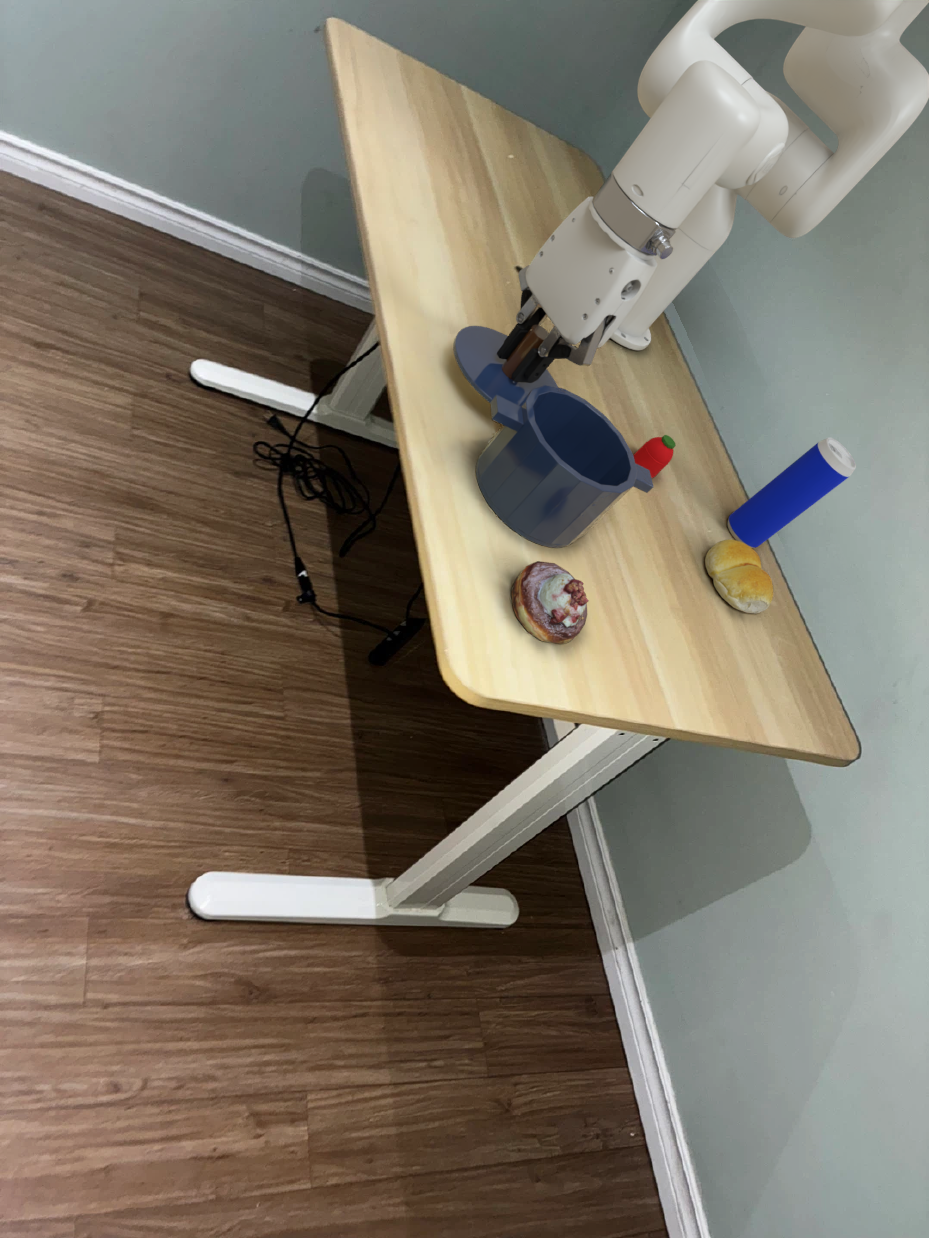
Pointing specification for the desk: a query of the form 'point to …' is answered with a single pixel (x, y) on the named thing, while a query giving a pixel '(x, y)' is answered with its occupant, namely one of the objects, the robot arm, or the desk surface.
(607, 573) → the desk surface
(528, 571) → the pastry
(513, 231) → the desk surface
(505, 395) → the lid
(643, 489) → the pot
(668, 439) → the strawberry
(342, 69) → the desk surface
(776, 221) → the robot arm
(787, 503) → the beverage can
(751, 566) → the bread roll
